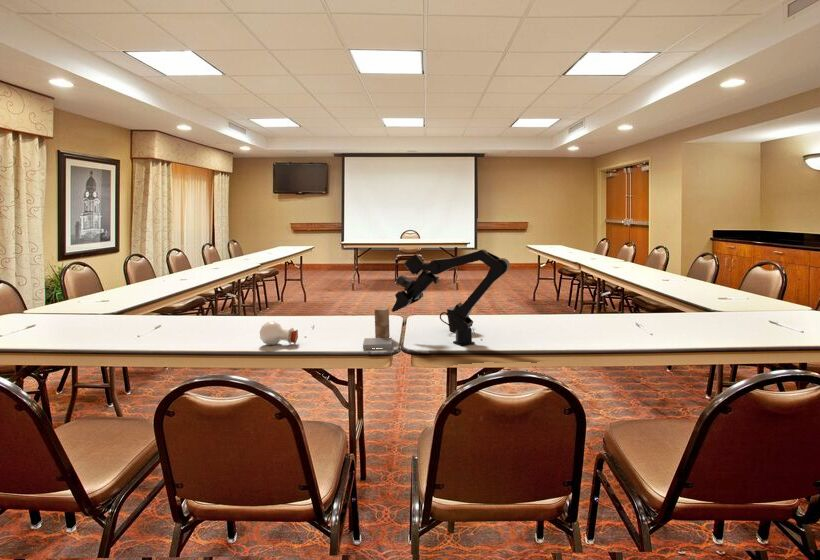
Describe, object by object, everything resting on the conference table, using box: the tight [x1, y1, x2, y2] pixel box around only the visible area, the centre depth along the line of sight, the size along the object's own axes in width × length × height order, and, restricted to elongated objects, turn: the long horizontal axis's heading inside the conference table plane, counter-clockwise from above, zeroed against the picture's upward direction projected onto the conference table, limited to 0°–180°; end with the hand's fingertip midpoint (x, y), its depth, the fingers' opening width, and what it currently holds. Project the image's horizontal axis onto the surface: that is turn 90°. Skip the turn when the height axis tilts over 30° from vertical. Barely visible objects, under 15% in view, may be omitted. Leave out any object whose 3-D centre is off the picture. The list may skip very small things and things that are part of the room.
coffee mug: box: [439, 306, 456, 333], centre depth 232 cm, size 12×9×10 cm
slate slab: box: [362, 337, 393, 350], centre depth 208 cm, size 11×11×2 cm
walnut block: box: [374, 307, 391, 338], centre depth 221 cm, size 4×4×12 cm
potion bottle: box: [259, 321, 299, 346], centre depth 214 cm, size 9×10×15 cm
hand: (396, 309), depth 217 cm, fingers open, 9 cm apart
